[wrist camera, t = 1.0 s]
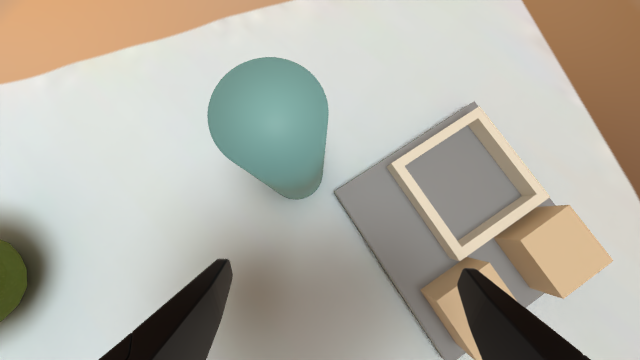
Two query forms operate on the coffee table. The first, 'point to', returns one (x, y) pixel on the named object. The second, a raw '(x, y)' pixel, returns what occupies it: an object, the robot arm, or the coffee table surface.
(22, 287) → the apple
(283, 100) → the teal column
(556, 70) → the coffee table surface
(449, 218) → the base board
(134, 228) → the coffee table surface
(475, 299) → the robot arm
